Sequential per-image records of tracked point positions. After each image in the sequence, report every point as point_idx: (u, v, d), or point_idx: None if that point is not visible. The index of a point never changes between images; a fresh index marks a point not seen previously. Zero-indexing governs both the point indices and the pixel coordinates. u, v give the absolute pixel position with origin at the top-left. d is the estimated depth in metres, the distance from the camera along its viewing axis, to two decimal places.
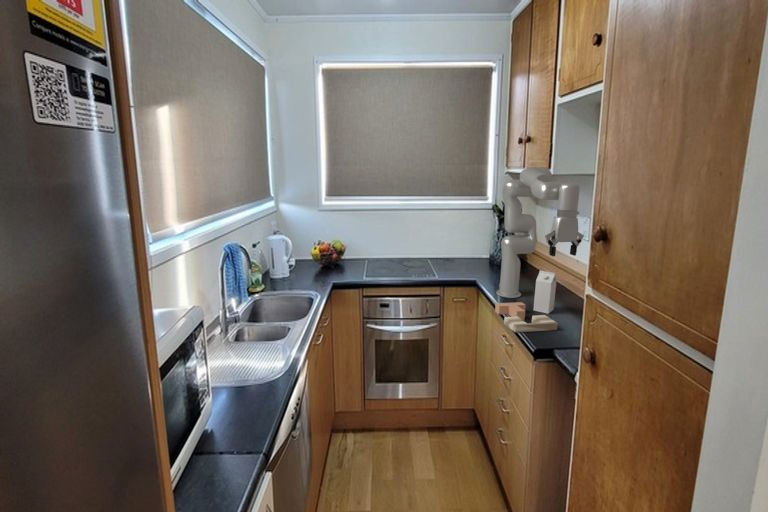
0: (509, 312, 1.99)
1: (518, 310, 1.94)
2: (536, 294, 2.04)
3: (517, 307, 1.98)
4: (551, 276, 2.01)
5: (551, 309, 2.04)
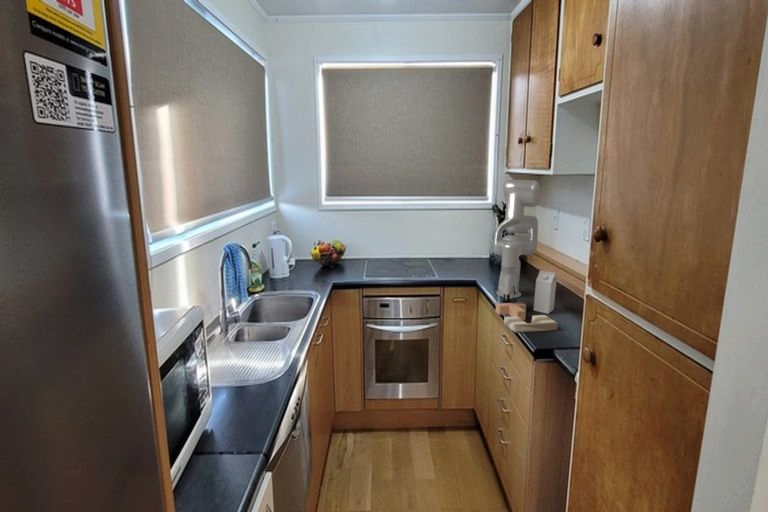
0: (510, 312, 1.99)
1: (519, 310, 1.93)
2: (536, 294, 2.04)
3: (518, 307, 1.97)
4: (551, 276, 2.01)
5: (551, 309, 2.04)
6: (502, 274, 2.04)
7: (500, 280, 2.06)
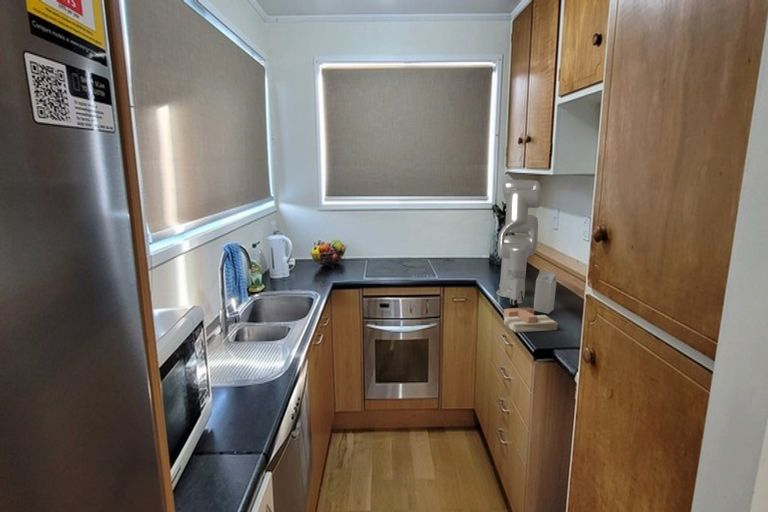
0: None
1: (530, 316, 1.87)
2: (536, 294, 2.04)
3: (527, 312, 1.91)
4: (551, 276, 2.01)
5: (551, 309, 2.04)
6: (509, 278, 1.97)
7: (507, 284, 1.99)
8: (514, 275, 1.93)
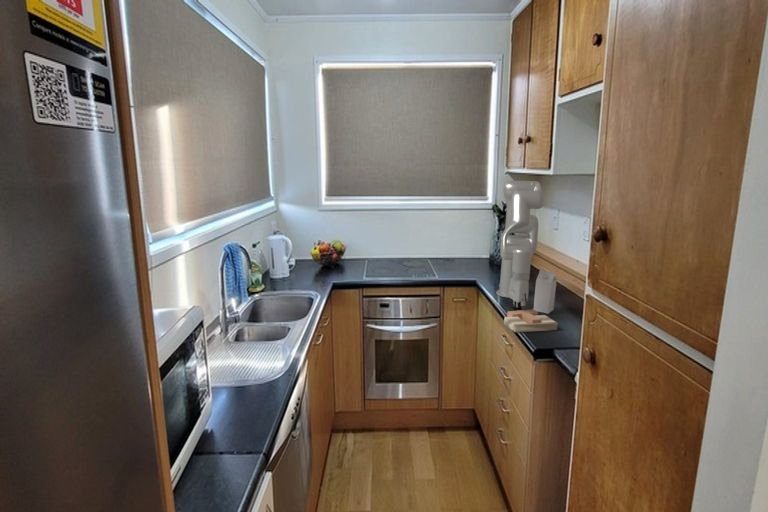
0: (523, 320, 1.89)
1: (533, 318, 1.84)
2: (536, 294, 2.04)
3: (531, 315, 1.88)
4: (551, 276, 2.01)
5: (551, 309, 2.04)
6: (513, 280, 1.94)
7: (510, 286, 1.96)
8: (518, 277, 1.90)
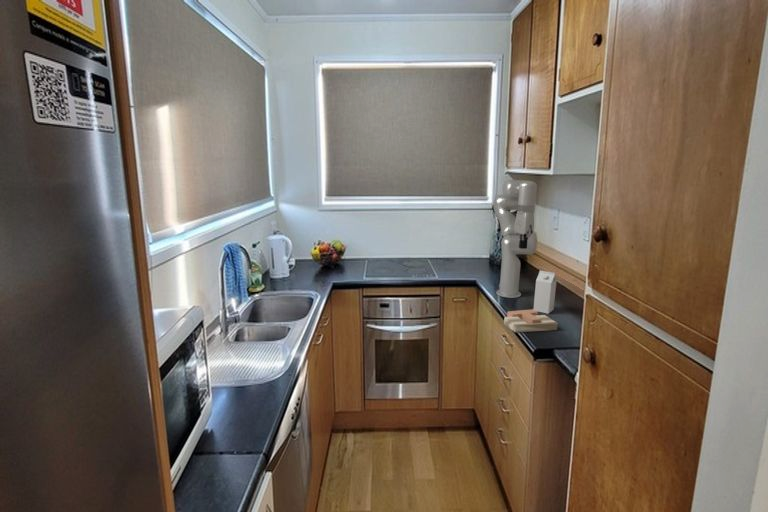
0: (523, 320, 1.89)
1: (533, 318, 1.84)
2: (536, 294, 2.04)
3: (531, 315, 1.88)
4: (551, 276, 2.01)
5: (551, 309, 2.04)
6: (519, 214, 2.01)
7: (516, 221, 2.04)
8: (523, 209, 1.97)
